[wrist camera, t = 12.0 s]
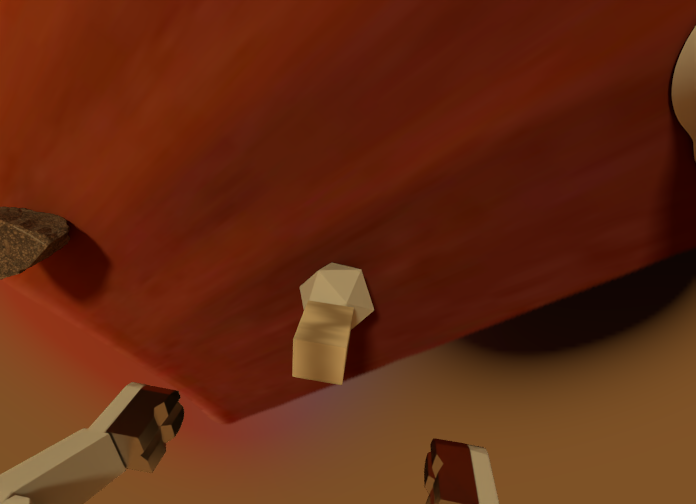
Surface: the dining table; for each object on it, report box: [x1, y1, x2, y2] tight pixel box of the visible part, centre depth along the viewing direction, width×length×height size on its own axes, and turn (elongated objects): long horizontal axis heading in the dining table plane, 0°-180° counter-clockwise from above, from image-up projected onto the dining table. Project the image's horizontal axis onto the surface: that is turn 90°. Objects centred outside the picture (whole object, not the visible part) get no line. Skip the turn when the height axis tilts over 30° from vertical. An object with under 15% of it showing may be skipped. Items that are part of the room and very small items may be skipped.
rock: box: [0, 207, 70, 279], centre depth 41 cm, size 12×10×10 cm
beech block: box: [292, 300, 354, 385], centre depth 34 cm, size 5×5×6 cm
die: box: [300, 263, 374, 329], centre depth 40 cm, size 8×9×10 cm
